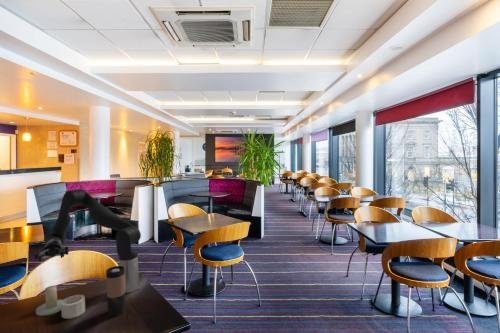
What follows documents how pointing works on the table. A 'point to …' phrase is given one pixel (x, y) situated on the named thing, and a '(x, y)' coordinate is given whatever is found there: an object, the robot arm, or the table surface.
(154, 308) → the table surface
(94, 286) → the table surface
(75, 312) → the bowl
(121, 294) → the travel mug
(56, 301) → the lid
